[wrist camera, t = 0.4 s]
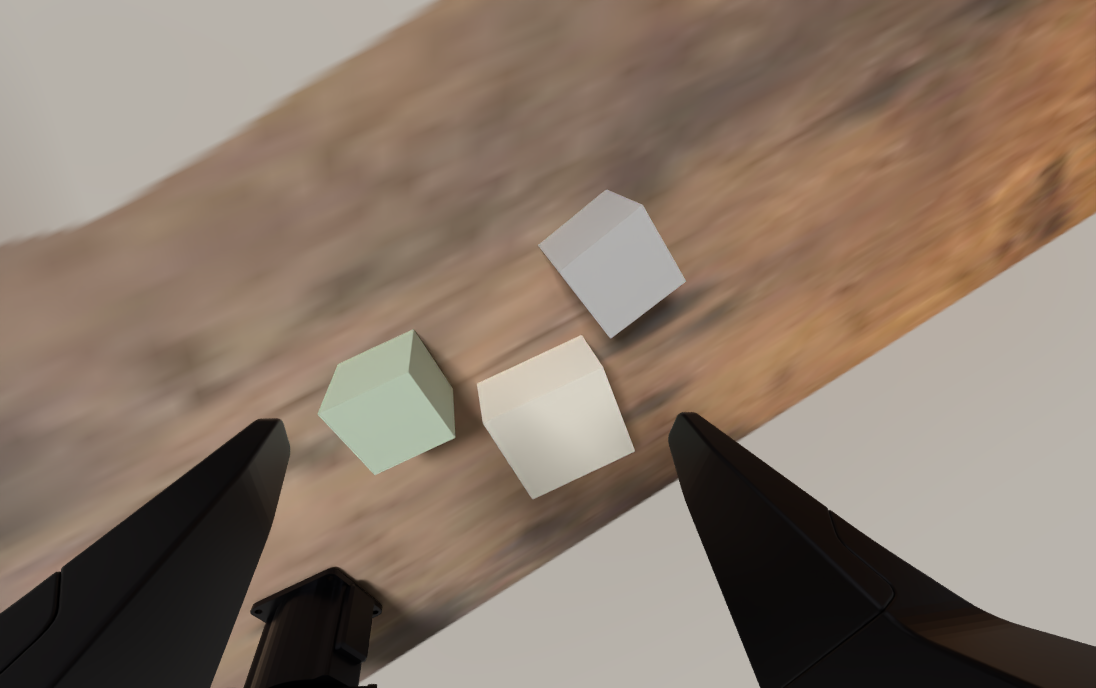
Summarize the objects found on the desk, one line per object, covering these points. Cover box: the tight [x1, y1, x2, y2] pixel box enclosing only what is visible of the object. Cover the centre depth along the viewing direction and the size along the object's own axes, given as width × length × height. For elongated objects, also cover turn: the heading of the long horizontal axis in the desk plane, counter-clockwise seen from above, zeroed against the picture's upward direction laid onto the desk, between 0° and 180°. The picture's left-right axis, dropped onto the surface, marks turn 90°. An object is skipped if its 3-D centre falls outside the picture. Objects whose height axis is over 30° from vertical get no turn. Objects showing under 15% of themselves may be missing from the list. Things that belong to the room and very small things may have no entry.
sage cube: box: [318, 329, 455, 475], centre depth 22 cm, size 4×4×4 cm
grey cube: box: [538, 190, 686, 339], centre depth 21 cm, size 4×4×4 cm
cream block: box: [477, 335, 635, 500], centre depth 25 cm, size 7×7×4 cm
